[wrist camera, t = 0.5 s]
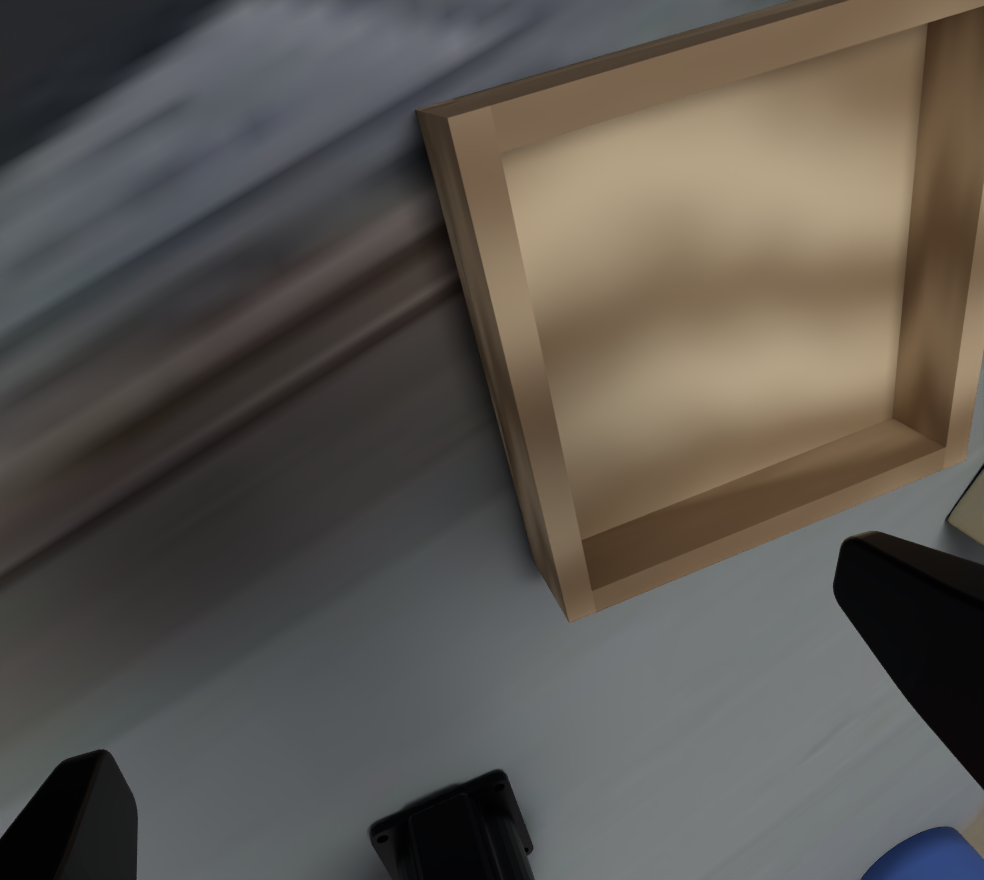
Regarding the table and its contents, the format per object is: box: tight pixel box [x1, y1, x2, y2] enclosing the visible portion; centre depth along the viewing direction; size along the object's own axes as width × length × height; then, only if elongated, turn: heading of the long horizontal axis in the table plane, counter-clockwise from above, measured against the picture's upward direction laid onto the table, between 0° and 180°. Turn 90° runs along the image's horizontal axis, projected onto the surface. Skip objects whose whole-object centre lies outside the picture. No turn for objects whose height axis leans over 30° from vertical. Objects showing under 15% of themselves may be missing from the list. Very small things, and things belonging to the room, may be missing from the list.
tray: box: [416, 0, 984, 623], centre depth 22 cm, size 16×16×4 cm
